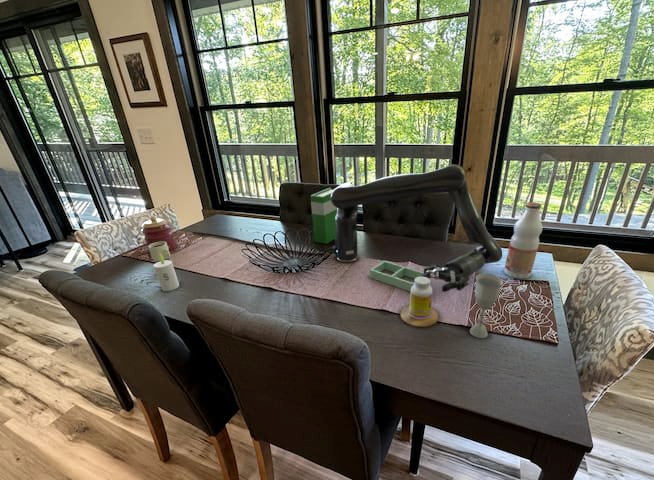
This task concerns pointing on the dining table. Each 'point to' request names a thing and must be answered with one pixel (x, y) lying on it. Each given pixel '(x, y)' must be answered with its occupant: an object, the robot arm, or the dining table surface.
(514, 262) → the fruit juice
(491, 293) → the chalice
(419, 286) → the supplement bottle
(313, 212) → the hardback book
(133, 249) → the dining table surface
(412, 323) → the coaster
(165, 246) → the character mug
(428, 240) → the dining table surface
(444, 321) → the dining table surface
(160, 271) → the candle
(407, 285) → the holder
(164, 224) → the kitchen canister
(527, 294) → the dining table surface
